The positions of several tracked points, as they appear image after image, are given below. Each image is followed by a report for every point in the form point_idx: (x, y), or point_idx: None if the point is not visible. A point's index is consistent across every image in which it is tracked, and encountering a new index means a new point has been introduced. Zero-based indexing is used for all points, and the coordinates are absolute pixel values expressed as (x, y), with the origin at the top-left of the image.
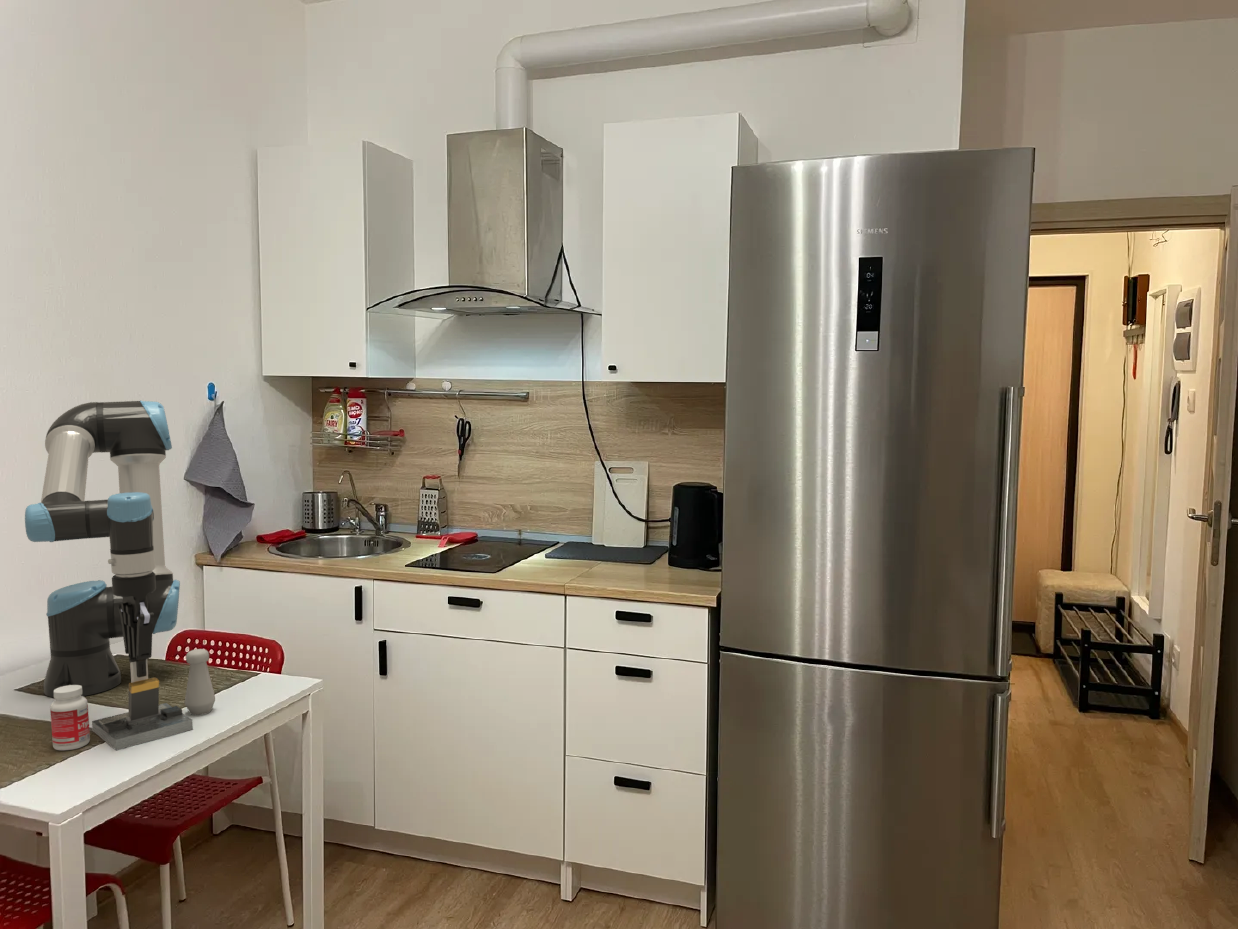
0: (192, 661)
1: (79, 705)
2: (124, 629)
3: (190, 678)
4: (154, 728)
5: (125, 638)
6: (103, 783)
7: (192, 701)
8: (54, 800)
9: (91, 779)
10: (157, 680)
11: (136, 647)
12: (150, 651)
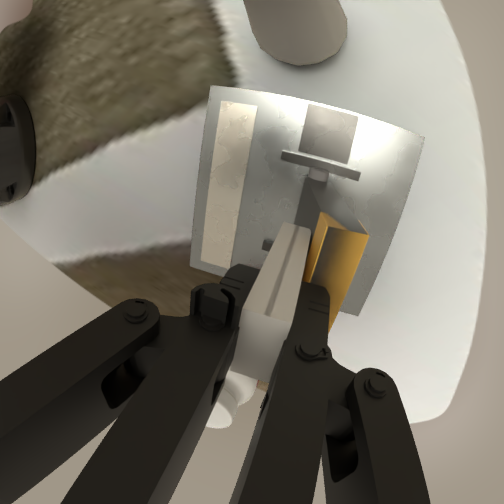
0: None
1: (253, 386)
2: (56, 464)
3: (291, 23)
4: (387, 233)
5: (101, 430)
6: (445, 374)
7: (321, 55)
8: (417, 413)
9: (418, 376)
10: (361, 238)
11: (327, 487)
12: (402, 423)
